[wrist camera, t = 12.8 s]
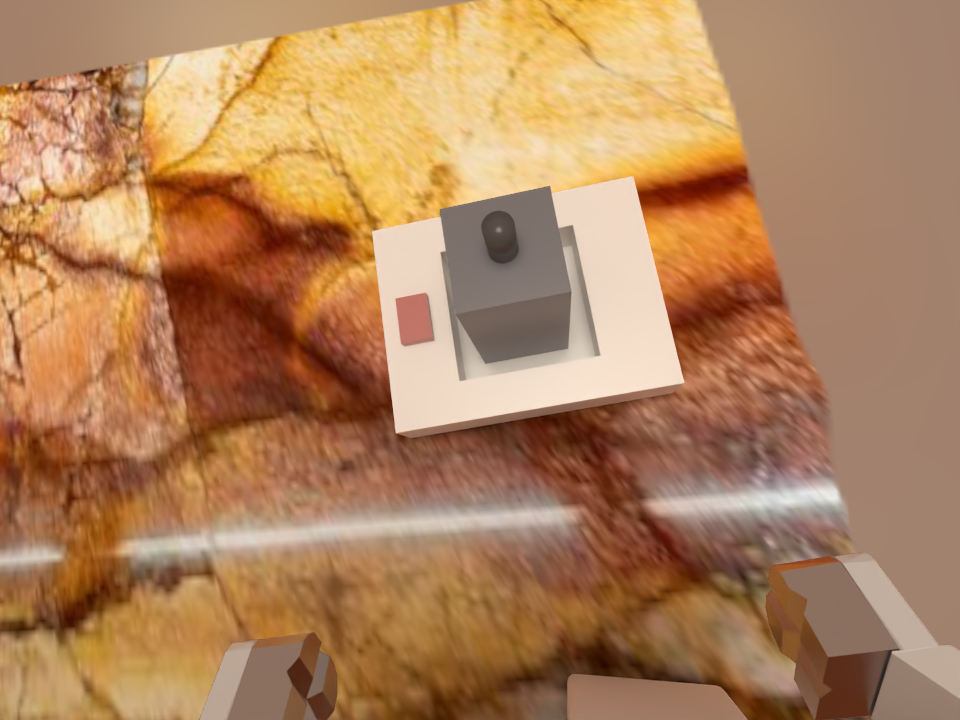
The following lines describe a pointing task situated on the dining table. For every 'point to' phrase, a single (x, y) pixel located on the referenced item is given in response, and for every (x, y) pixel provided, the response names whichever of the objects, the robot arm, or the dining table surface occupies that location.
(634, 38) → the dining table surface
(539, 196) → the plug
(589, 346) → the socket
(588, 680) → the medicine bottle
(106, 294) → the dining table surface
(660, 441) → the dining table surface
